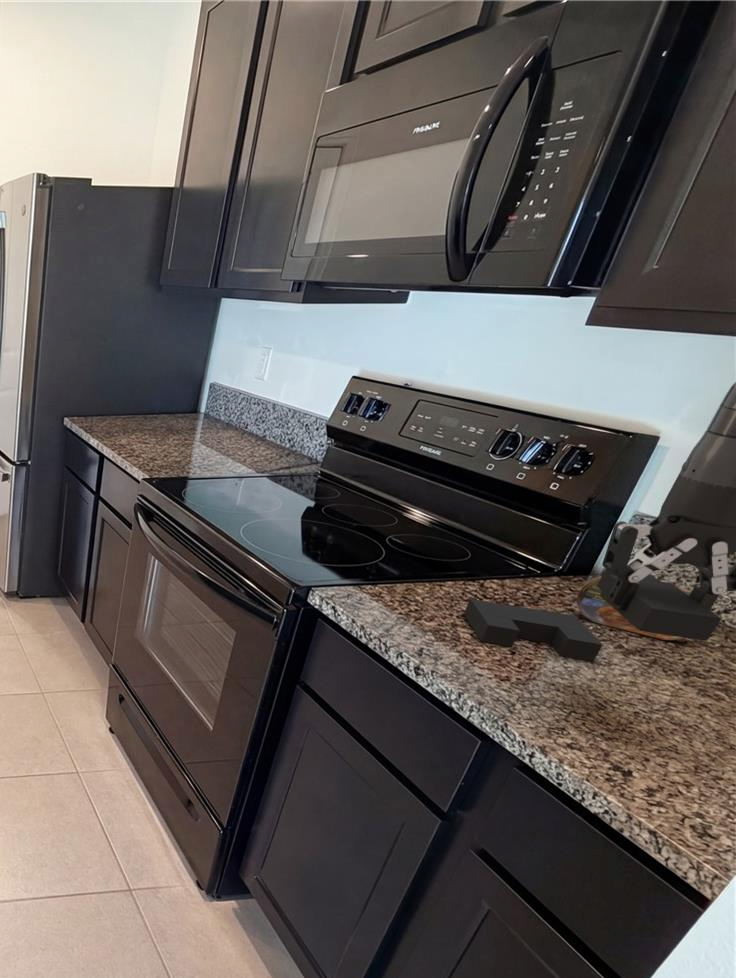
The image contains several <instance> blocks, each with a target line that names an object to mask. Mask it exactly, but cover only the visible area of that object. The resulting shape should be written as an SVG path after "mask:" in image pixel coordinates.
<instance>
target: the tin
mask: <svg viewBox="0 0 736 978" xmlns="http://www.w3.org/2000/svg"><path fill="white" fill-rule="evenodd" d="M601 577H602V575H599V576H597V577H594V578H591V579H590V580H588V581H587V582H585V583H584V584H583V585H582V586H581V588H580V589H579V590H578V593H577V595H576V607H577V610H578V611H579V612H580V614H581V615H582V616H584V618H586V619H587V620H589V621H591V622H593V623H594V624H598V625H602V626H606V627H611V628H615V629H619V630H623V631H626V632H630V633H633V634H639V635H642V636H646V637H649V638H653V639H657V640H663V641H680V640H686V639H687V638H683V637H677V636H670V635H664V634H657V633H651V632H644V631H639V630H638V629H637V628H636V627H635V626H633V625H632V624H631V623H630V622H629V621H628V620H627V619H625V618H624V617H623V616H622V615H621V614H620V613H619V612H617V611H616V610H615V609H614V608H613V607H612V606H611V605H609V604H608V603H607V602H606V601H605V600H604V599H603V598H601V597H600V594H601V592H602V591H601V590H600V589H599V588H598V587H597V584H598V582H599V581H600V579H601ZM677 587H678V586H677ZM678 588H679V589H680V590H682V591H683V592H685V593H686V594H688V595H690V593H691V592H692V590H690V589H687V588H685V587H684V588H682V587H678Z"/></svg>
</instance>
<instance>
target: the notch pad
mask: <svg viewBox="0 0 736 978" xmlns="http://www.w3.org/2000/svg"><path fill="white" fill-rule="evenodd" d="M463 616H464V617H465V619H466V620H467V622H468V624H469V625H470V627H471V628H472V630H473V631H474V633H475V635H476V636H477V637H478V640H479V641H480V642H482V643H488V644H493V645H498V646H505V647H510V648H513V645H514V643H515V641H516V640H517V639H523V640H528V641H533V642H539V643H545V644H549V645H551V647H552V648H553V649H554V650H555V651H556V652H557V654H558V655H559V656H561V657H565V658H570V659H575V660H581V661H586V662H587V661H588V662H594V661H595V659H596V657H597V656H598V654H599V652H600V651H601V650H602V647H603V643H602V642H601V641H600V640H599V639H598V638H597V637H596V636H595V635H594V634H593V633H592V632H591V631H590V630H589V629H588V627H586V626H585V624H584V623H582V621H581V620H580V619H579V618H578V617H577V616H576V615H573V614H566V613H560V612H554V611H548V610H542V609H537V608H529V607H524V606H517V605H510V604H505V603H498V602H492V601H486V600H479V599H474V598H470V599H469V601H468V604H467V606H466V608H465V610H464V613H463Z"/></svg>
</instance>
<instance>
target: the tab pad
mask: <svg viewBox="0 0 736 978" xmlns="http://www.w3.org/2000/svg"><path fill="white" fill-rule="evenodd" d="M601 576H602V577H601V579H600V581H599V582H598V584H597V587H598V588H599V589H600V590H601V591H602V592H601V594H600V597H601V598H603V599H604V600H605V601H606V602H607V603H608V604H609V605H611V604H610V601H609V600H608V595H609V593H610V591H611V589H612V587H613V585H614V583H615V582H616V580H617V577H618V576H617V575H614V574H612V573H611V572H610V571H609V570H607V569H606V568H605V569H604V571H603V573H602V575H601ZM638 583H639V584H640V586H639V588H638V590H637V592H636V593H635V595H634V596H633V598H632V600H631V602H630V603H629V605H628V607H627V609H626V610H624V611H623V610H617V609H615V608H614V607H613V606H612V605H611V606H612V607H613V608H614V609H615V610H616V611H617V612H619V613H620V614H621V615H622V616H623V617H624V618H625V619H627V620H628V621H629V622H630V623H631V624H632V625H633V626H635V627H636V628H637V629H638V630H639V631H644V632H651V633H657V634H664V635H670V636H677V637H683V638H686V639H690V640H697V641H703V642H708V640H709V639H710V637H711V636H712V635H713V633H714V631H715V629H716V627H717V626H718V625H719V623H720V622H721V620H722V617H720V615H718V614H716V613H714V612H713V611H712V610H711V609H710V610H709V609H707V608H706V607H705V606H703V605H702V604H700V603H699V602H697V601H696V600H695V599H693V598H692V597H690V596H689V595H688V594H686V593H685V592H683V591H682V590H680V589H679V588H680V587H679V588H678V586H676V585H675V584H674V583H672V582H666V581H661V580H660V579H658V578H657V577H655V576H654V575H652V573H651V574H649V575H648V576H646V577H645V578H644V579H642V580H641V581H640V582H638Z"/></svg>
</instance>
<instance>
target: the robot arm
mask: <svg viewBox="0 0 736 978" xmlns="http://www.w3.org/2000/svg"><path fill="white" fill-rule="evenodd" d="M645 536H647V538H648V541H649V543H647V544H646V545H645V546H644V547H642V548H641V549H639V550H638V551H637V552H635V554H634V557H633V558H632V559H631V556H632V553H633V549H634V547H635V544H639V543H641V540H642V539H643V538H644V537H645ZM735 553H736V381H735V382H734V383H733V384H732V385H731V386H730V387H729V389H728V390H727V392H726V393H725V395H724V397H723V398H722V400H721V402H720V404H719V405H718V407H717V409H716V411H715V412H714V415H713V416H712V418H711V420H710V422H709V424H708V426H707V428H706V430H704V433H703V434H702V436H701V437H700V438H699V440H698V441H697V442H696V444H695V445H694V447H693V448H692V449H691V451H690V453H689V455H688V457H687V458H686V460H685V461H684V462H683V464H682V466H681V469H680V471H679V473H678V475H677V477H676V479H675V481H674V483H673V484H672V486H671V488H670V490H669V491H668V494H667V495H666V497H665V499H664V501H663V503H662V505H661V507H660V510H659V513H658V516H656V518H654V519H653V520H651V522H649V523H648V524H630V523H628V522H626V521H617V522H616V523H615V524H614V526H613V529H612V532H611V535H610V539H609V541H608V545H607V548H606V551H605V554H604V557H603V560H602V567H603V568H605V569H607V570H609V571H610V572H611V573H612V574H614V575H617V576H618V577H617V580H616V582H615V583H614V585H613V587H612V589H611V591H610V593H609V595H608V600H609V601H610V604H611V605H612V606H613V607H614V608H615V609H617V610H623V611H624V610H626V609H627V607H628V605H629V603H630V602H631V600H632V598H633V596H634V595H635V593H636V592H637V590H638V588H639V586H640V584H639V583H638V582H640V581H641V580H642V579H644V578H645V577H646V576H648V575H649V574H651V575H652V573H653V572H656V571H660V570H662V569H664V568H665V567H666V566H667V565H669V564H673V565H691V566H693V567H695V568H696V569H697V570H698V579H699V586H698V585H694V587H693V588H692V590H691V591H692V592H691V593H690V595H689V596H690V597H692V598H693V599H695V600H696V601H697V602H699V603H700V604H702V605H703V606H705V607H706V608H707V609H709V610H710V611H711V609H712V607H713V606H714V605H715V603H716V601H717V600H718V599H719V596H721V595H722V594H725V593H727V592H736V563H735V564H734V565H733V566H732V567H731V569H729V562H728V557H729V556H731V555H732V554H735Z"/></svg>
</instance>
